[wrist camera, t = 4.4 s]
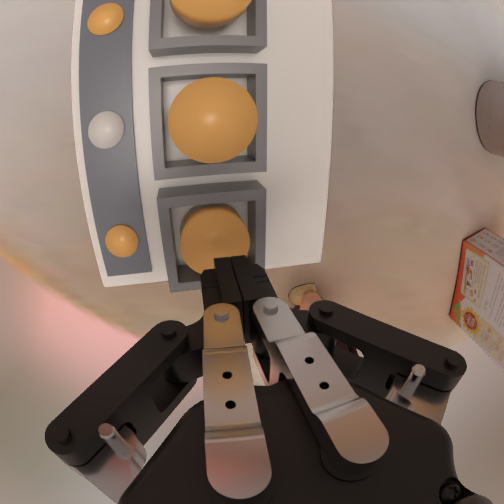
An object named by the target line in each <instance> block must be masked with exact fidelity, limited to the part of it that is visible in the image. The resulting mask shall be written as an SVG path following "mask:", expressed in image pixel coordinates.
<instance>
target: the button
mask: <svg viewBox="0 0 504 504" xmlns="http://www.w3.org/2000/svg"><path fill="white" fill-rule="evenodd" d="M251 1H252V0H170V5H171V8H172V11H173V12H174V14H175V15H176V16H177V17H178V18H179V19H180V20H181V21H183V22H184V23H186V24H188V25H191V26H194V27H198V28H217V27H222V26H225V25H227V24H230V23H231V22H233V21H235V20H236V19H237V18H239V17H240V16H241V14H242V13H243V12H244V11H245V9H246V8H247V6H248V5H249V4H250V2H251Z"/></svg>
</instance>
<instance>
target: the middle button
mask: <svg viewBox="0 0 504 504" xmlns="http://www.w3.org/2000/svg"><path fill="white" fill-rule="evenodd" d="M257 125H258V113H257V108H256V105H255V102H254V100H253V99H252V97H251V95H250V94H249V93H248V92H247V91H246V89H245V88H243V87H242V86H241V85H239V84H238V83H236V82H234V81H232V80H229V79H226V78H221V77H208V78H203V79H199V80H197V81H194V82H192V83H190V84H189V85H187V86H186V87H185V88H183V89H182V90H181V91H180V92H179V93H178V95H177V96H176V97H175V99H174V100H173V102H172V105H171V107H170V110H169V114H168V129H169V133H170V136H171V139H172V141H173V142H174V144H175V145H176V147H177V148H178V149H179V150H180V151H181V152H182V153H183V154H184V155H186V156H187V157H189V158H191V159H193V160H195V161H198V162H202V163H221V162H224V161H228V160H230V159H232V158H234V157H236V156H238V155H239V154H240V153H242V152H243V151H244V150H245V149H246V148H247V147H248V145H249V144H250V143H251V141H252V139H253V137H254V135H255V133H256V130H257Z"/></svg>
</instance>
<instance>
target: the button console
mask: <svg viewBox="0 0 504 504" xmlns="http://www.w3.org/2000/svg"><path fill="white" fill-rule="evenodd" d="M208 77H221V78H226V79H229V80H232V81H234V82H236V83H238V84H239V85H241V86H242V87H243V88H245V89H246V91H247V92H248V93H249V94H250V95H251V97H252V99H253V100H254V102H255V105H256V108H257V113H258V125H257V130H256V133H255V135H254V137H253V139H252V141H251V143H250V144H249V145H248V147H247V148H246V149H245V150H244V151H243V152H242V153H240V154H239V155H238V156H236V157H234V158H232V159H230V160H228V161H224V162H221V163H202V162H198V161H195V160H193V159H191V158H189V157H187V156H186V155H184V154H183V153H182V152H181V151H180V150H179V149H178V148H177V147H176V145H175V144H174V142H173V141H172V139H171V136H170V133H169V129H168V114H169V110H170V107H171V105H172V102H173V100H174V99H175V97H176V96H177V95H178V93H179V92H180V91H181V90H182V89H183V88H185V87H186V86H187V85H189V84H190V83H192V82H194V81H197V80H199V79H203V78H208ZM71 86H72V111H73V126H74V137H75V147H76V156H77V164H78V171H79V178H80V184H81V190H82V196H83V201H84V207H85V212H86V217H87V222H88V226H89V231H90V235H91V239H92V244H93V248H94V252H95V256H96V259H97V263H98V267H99V271H100V274H101V278H102V281H103V284H104V287H111V286H121V285H131V284H140V283H150V282H159V281H168V282H169V287H170V292H179V291H188V290H197V289H202V288H201V279H200V276H201V274H200V273H198V272H196V271H194V270H193V269H191V268H190V267H189V266H188V265H187V264H186V262H185V261H184V259H183V257H182V254H181V250H180V226H181V223H182V220H183V218H184V216H185V215H186V214H187V212H188V211H189V210H190V209H192V208H193V207H194V206H196V205H205V204H216V203H225V204H228V205H229V206H231V207H232V208H234V209H235V210H236V211H237V213H238V214H239V216H240V217H241V219H242V221H243V223H244V225H245V227H246V228H247V230H248V233H249V237H250V247H249V251H248V254H247V256H246V258H247V261H248V263H249V265H250V264H258V265H259V266H261V267H262V268H263V269H264V270H265V269H270V268H278V267H286V266H294V265H301V264H309V263H317V262H321V255H322V246H323V238H324V228H325V218H326V208H327V197H328V185H329V171H330V156H331V138H332V114H333V21H332V0H252V1H251V2H250V4H249V5H248V6H247V8H246V9H245V11H244V12H243V13H242V14H241V16H240V17H239V18H237V19H236V20H235V21H233V22H231V23H230V24H227V25H225V26H222V27H217V28H198V27H194V26H191V25H188V24H186V23H184V22H183V21H181V20H180V19H179V18H178V17H177V16H176V15H175V14H174V12H173V11H172V8H171V5H170V0H76V4H75V13H74V23H73V37H72V62H71Z"/></svg>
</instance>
